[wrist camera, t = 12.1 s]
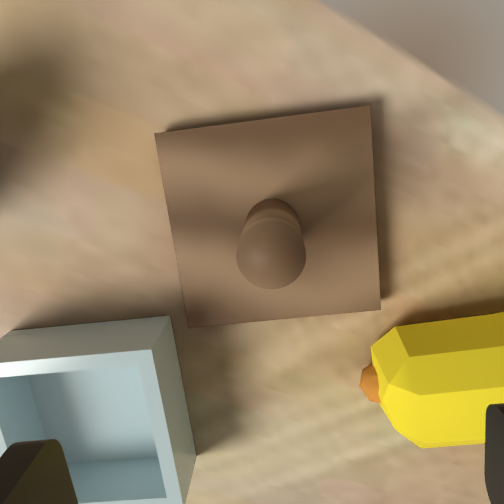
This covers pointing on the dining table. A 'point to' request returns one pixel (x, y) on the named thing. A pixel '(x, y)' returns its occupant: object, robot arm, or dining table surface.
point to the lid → (273, 216)
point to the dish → (102, 406)
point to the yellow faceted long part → (439, 378)
